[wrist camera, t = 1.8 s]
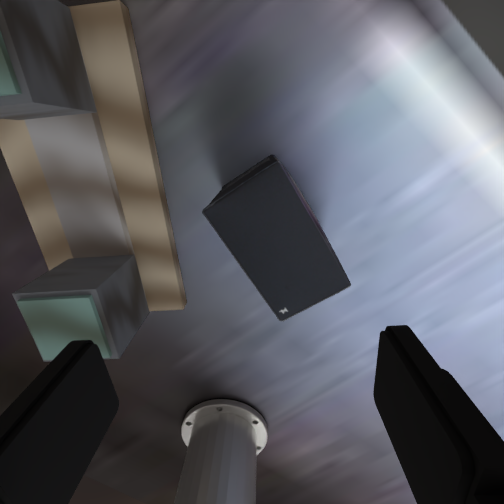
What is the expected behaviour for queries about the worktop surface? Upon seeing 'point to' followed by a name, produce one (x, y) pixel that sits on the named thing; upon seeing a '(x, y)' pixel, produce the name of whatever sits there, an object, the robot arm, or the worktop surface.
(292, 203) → the small box
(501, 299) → the worktop surface
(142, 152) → the rail board
